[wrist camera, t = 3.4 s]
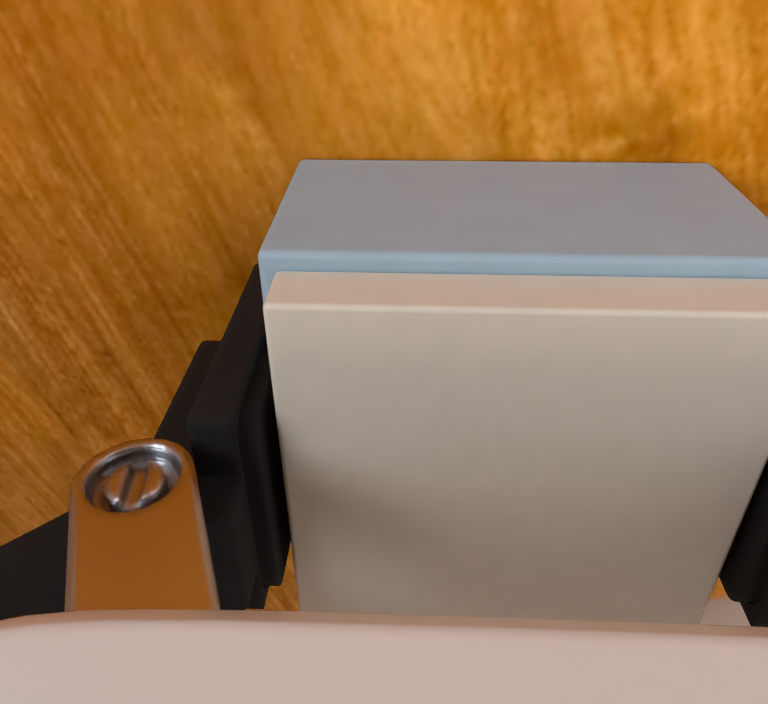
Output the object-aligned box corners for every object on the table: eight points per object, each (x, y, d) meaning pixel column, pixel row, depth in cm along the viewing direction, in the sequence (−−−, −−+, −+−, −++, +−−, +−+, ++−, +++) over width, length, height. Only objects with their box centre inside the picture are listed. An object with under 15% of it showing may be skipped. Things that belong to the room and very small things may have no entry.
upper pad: (321, 458, 13) (289, 643, 10) (298, 157, 10) (238, 287, 7) (630, 466, 13) (700, 659, 10) (711, 161, 10) (860, 297, 6)
